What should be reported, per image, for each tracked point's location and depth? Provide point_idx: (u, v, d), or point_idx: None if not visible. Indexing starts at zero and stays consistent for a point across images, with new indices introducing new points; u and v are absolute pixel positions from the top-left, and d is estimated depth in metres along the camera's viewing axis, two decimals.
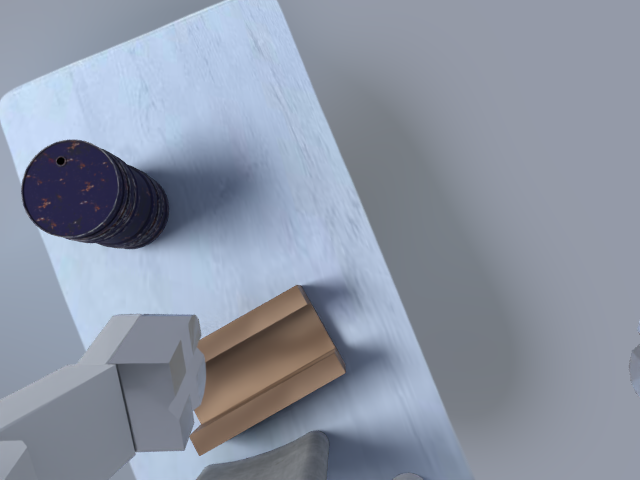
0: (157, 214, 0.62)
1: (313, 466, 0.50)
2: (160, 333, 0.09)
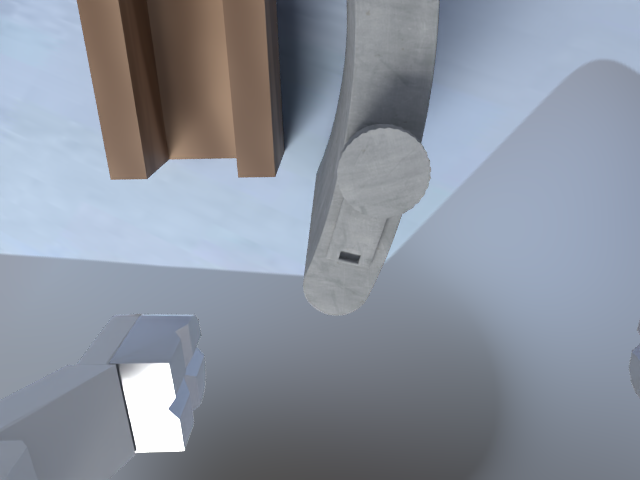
0: None
1: None
2: (160, 333, 0.09)
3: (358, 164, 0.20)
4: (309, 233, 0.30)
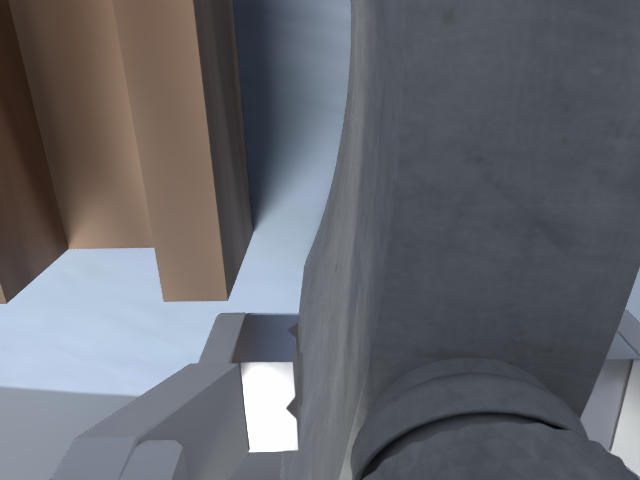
0: None
1: None
2: (273, 332, 0.09)
3: None
4: None
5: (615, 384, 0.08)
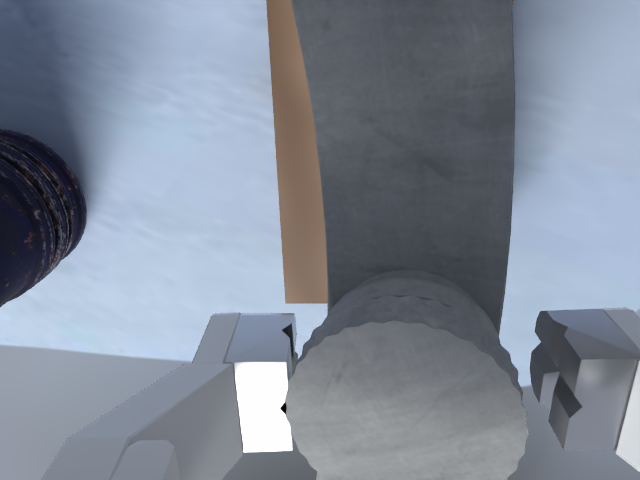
0: (15, 162, 0.30)
1: None
2: (267, 332, 0.09)
3: (331, 405, 0.08)
4: None
5: (621, 384, 0.08)
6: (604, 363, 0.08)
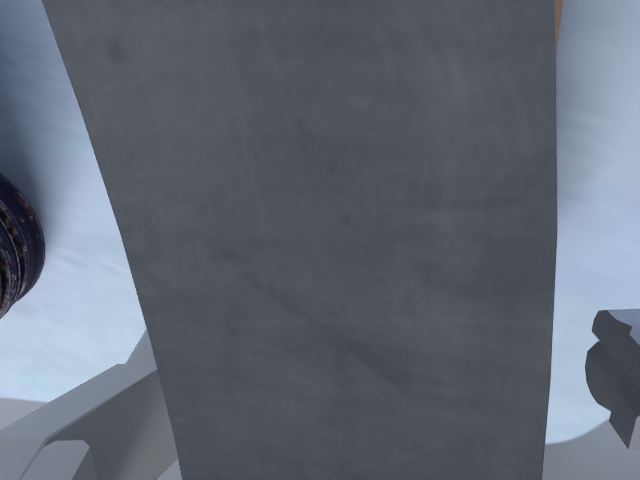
0: None
1: None
2: None
3: None
4: None
5: None
6: None
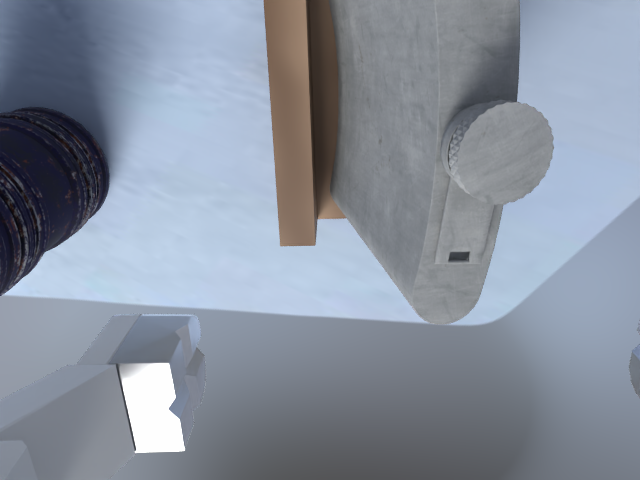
0: (54, 133, 0.36)
1: None
2: (160, 333, 0.09)
3: (480, 149, 0.18)
4: (375, 246, 0.27)
5: None
6: None
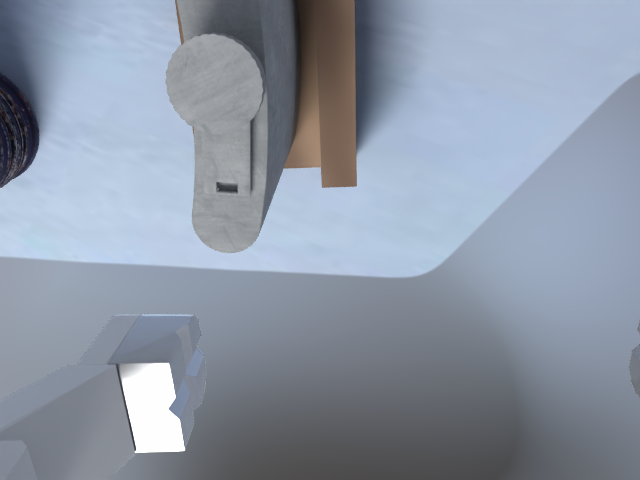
0: None
1: None
2: (160, 333, 0.09)
3: (184, 79, 0.19)
4: None
5: None
6: None
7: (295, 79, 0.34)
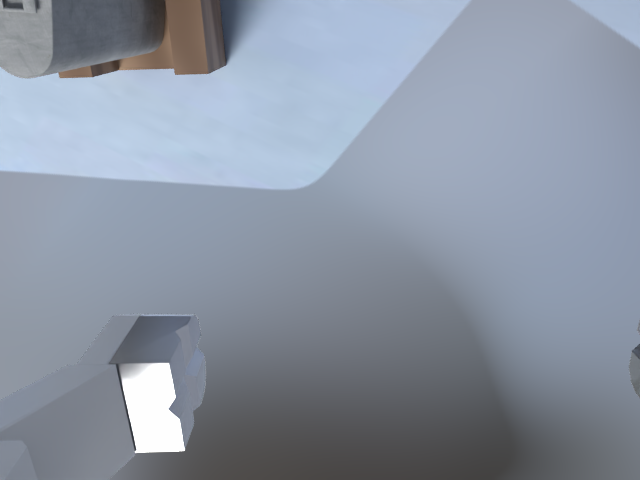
0: None
1: None
2: (160, 333, 0.09)
3: None
4: None
5: None
6: None
7: None
